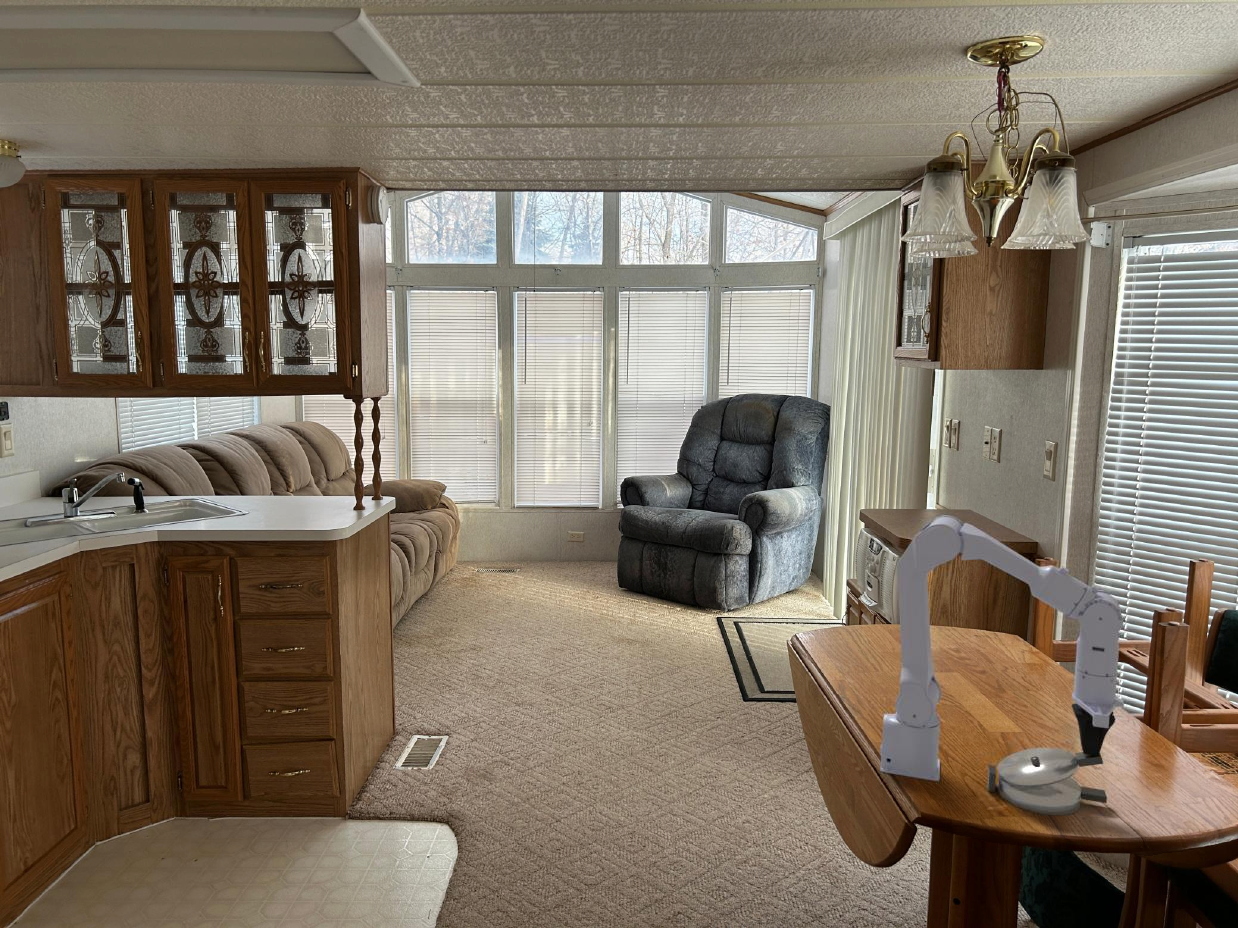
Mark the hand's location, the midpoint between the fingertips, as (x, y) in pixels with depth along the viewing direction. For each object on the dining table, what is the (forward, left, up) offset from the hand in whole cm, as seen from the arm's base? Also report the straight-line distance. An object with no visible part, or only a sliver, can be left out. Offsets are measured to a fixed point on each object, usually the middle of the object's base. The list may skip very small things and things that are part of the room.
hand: (1090, 753), depth 135 cm
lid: (-6, 0, -3) cm, 7 cm away
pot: (-7, 0, -9) cm, 11 cm away
